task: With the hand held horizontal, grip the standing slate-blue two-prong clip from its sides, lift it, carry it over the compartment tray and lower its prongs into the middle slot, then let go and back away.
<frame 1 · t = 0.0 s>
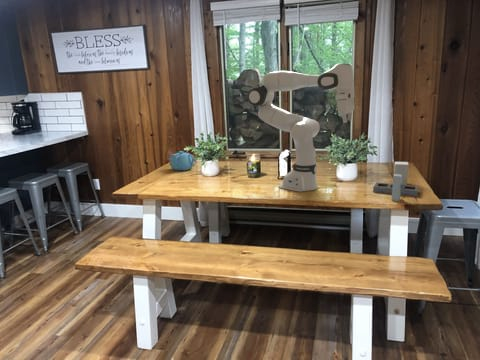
hand: (347, 121, 204), 39 cm above the table, tool pointing down, fingers open, 8 cm apart
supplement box: (399, 184, 224), on the table
compartment tray: (395, 191, 211), on the table
clip: (395, 199, 198), on the table
decorative pot: (182, 169, 282), on the table
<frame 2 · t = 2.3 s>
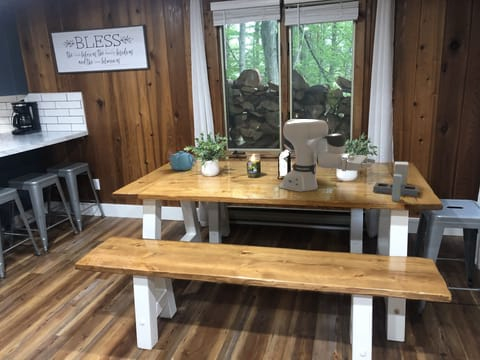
hand: (373, 163, 199), 18 cm above the table, tool horizontal, fingers open, 8 cm apart
nothing on the table moved.
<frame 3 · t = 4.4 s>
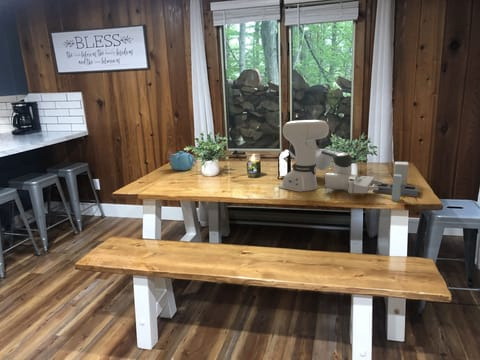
hand: (380, 185, 201), 6 cm above the table, tool horizontal, fingers open, 8 cm apart
nothing on the table moved.
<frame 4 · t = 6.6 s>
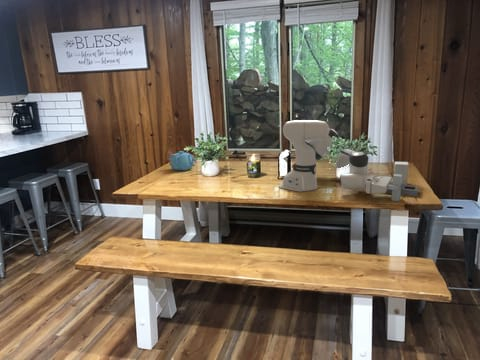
hand: (398, 185, 195), 8 cm above the table, tool horizontal, fingers closed on clip, 4 cm apart
clip: (395, 199, 198), on the table, touching gripper
everything else where it was.
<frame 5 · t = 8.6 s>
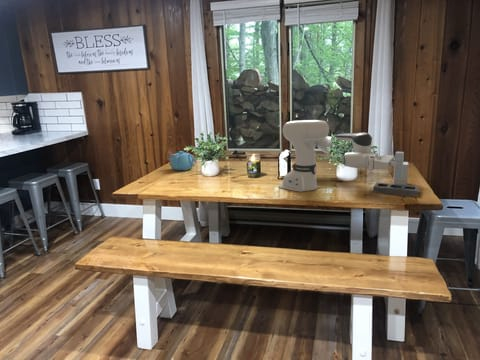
hand: (400, 162, 202), 17 cm above the table, tool horizontal, fingers closed on clip, 4 cm apart
clip: (398, 176, 204), point 10 cm above the table, touching gripper
everything else where it was.
when the fingers open (10 cm above the table, at t = 10.9 s): clip drops 1 cm, resting on compartment tray.
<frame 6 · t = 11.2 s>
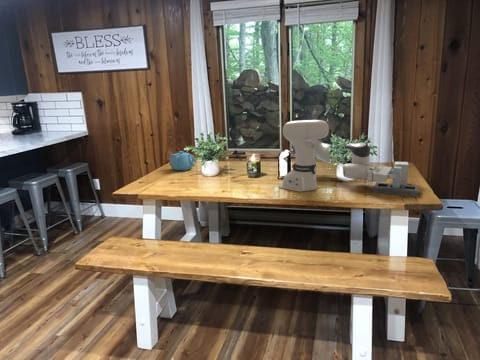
hand: (398, 174, 208), 10 cm above the table, tool horizontal, fingers open, 6 cm apart
clip: (395, 190, 210), point 1 cm above the table, touching compartment tray
everything else where it was.
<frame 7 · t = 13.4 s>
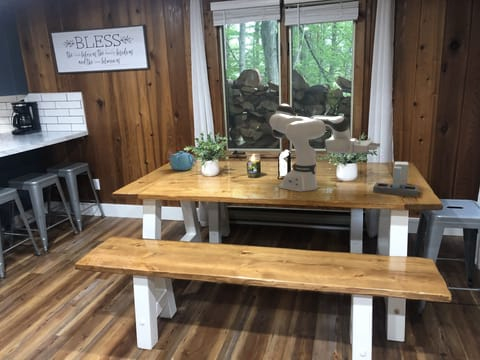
hand: (378, 146, 213), 24 cm above the table, tool horizontal, fingers open, 8 cm apart
nothing on the table moved.
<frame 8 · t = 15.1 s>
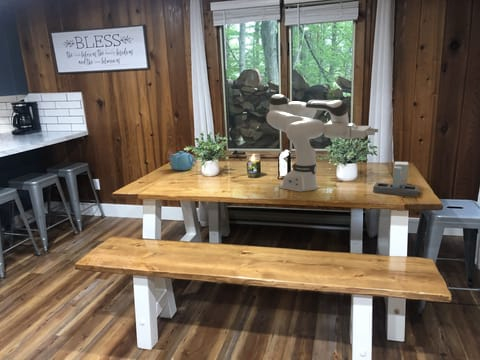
hand: (376, 131, 210), 32 cm above the table, tool horizontal, fingers open, 8 cm apart
nothing on the table moved.
at the end: clip 0.1 cm off-centre on the compartment tray, point 0.6 cm above the compartment tray's base; clip tilted 0°; the gripper is holding nothing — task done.
